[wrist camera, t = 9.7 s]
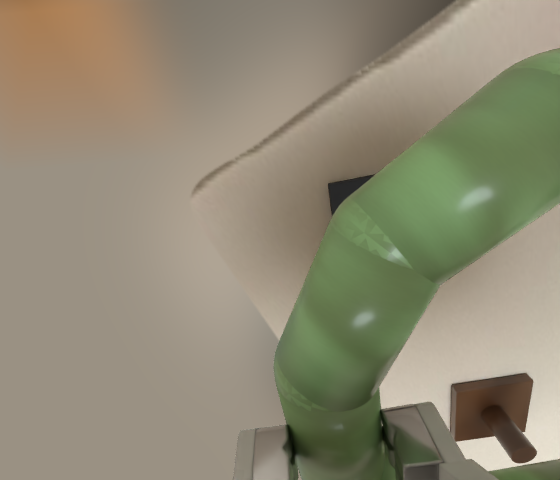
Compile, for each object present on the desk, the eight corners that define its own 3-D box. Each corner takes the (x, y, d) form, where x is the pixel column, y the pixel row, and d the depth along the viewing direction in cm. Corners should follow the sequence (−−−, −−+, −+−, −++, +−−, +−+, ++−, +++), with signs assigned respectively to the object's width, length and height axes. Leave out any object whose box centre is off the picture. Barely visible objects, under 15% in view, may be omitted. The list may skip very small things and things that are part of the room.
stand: (526, 373, 32) (574, 420, 27) (518, 423, 35) (560, 475, 30) (451, 384, 32) (484, 433, 27) (449, 433, 35) (479, 486, 30)
